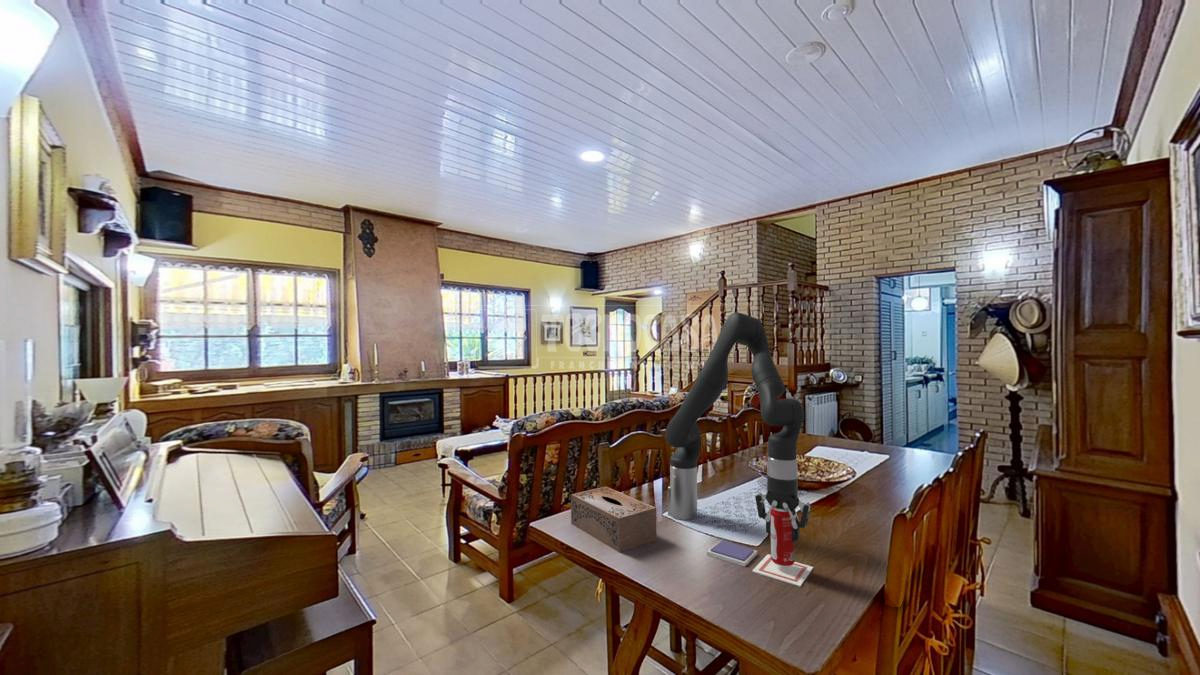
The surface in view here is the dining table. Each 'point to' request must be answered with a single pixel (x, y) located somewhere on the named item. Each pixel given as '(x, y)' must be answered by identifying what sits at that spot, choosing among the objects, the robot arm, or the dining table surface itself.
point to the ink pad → (732, 553)
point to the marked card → (783, 571)
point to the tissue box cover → (613, 518)
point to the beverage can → (781, 537)
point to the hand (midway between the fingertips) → (782, 538)
